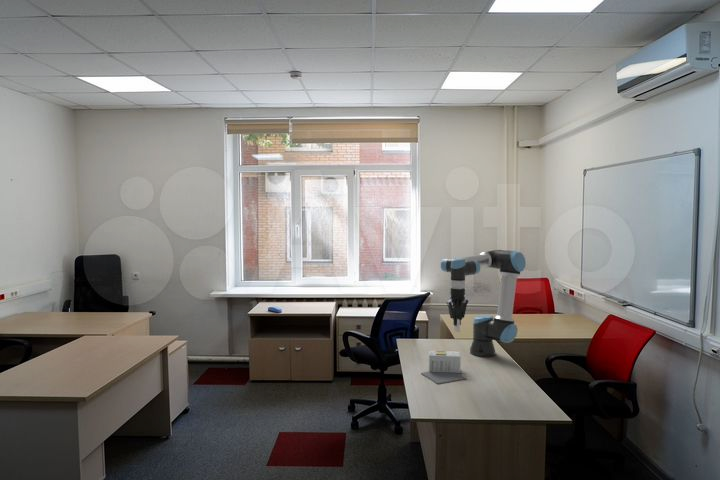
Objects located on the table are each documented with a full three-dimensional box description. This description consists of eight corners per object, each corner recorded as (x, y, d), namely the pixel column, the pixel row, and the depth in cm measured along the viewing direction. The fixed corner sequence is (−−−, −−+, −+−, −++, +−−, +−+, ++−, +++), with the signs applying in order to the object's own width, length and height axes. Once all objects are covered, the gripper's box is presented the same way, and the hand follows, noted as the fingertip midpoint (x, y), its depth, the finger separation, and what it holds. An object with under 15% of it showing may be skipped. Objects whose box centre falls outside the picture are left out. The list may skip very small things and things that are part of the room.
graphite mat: (448, 369, 261) (448, 368, 261) (466, 379, 246) (466, 377, 246) (421, 373, 253) (421, 372, 253) (437, 384, 239) (437, 383, 239)
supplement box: (460, 356, 252) (429, 355, 254) (460, 373, 253) (429, 372, 255) (459, 351, 262) (428, 350, 264) (458, 367, 262) (428, 366, 264)
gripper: (463, 285, 256) (462, 328, 257) (443, 287, 250) (442, 330, 252) (472, 288, 249) (471, 331, 251) (451, 289, 244) (451, 334, 245)
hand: (457, 331), depth 251 cm, fingers closed
